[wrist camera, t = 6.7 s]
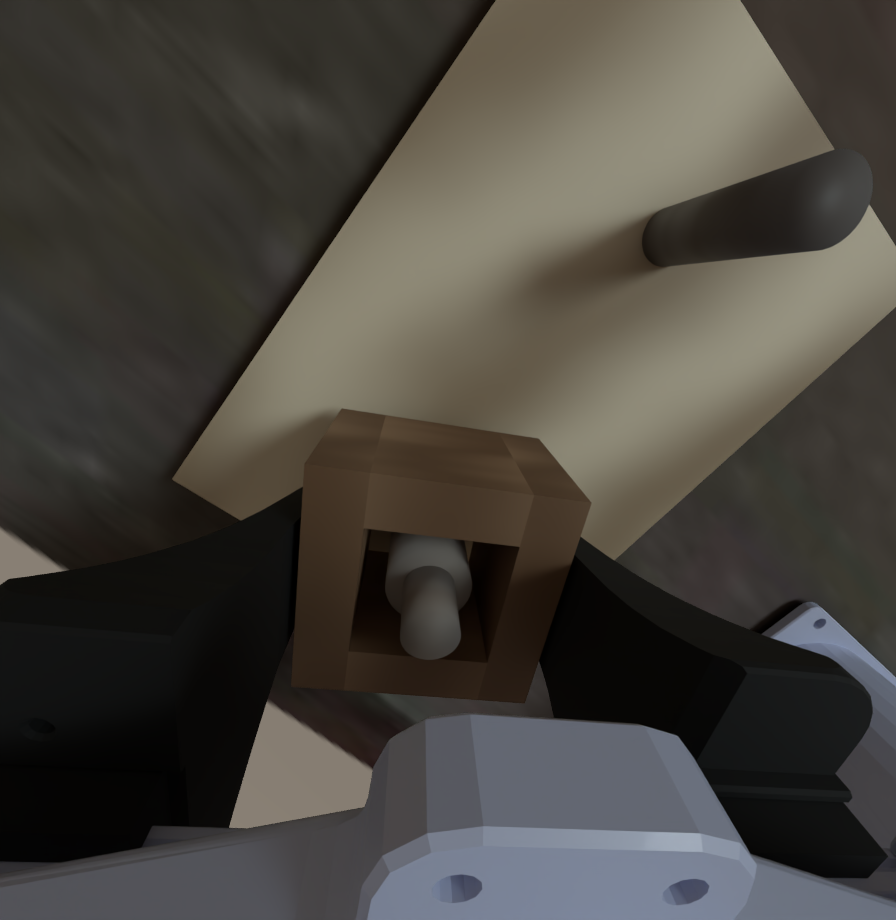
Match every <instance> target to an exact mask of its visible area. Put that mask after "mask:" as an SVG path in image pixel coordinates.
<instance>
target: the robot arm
mask: <svg viewBox="0 0 896 920" xmlns="http://www.w3.org/2000/svg"><path fill="white" fill-rule="evenodd" d="M302 494H303V487H301V488H299V489H298V490H296V491H294V492H292V493H291V494H289V495H287V496H286V497H284V498H282V499H281V500H279V501H277V502H275V503H274V504H272V505H270V506H268V507H267V508H265V509H263V510H261V511H259V512H257V513H255V514H253V515H251V516H249V517H247V518H245V519H243V520H241V521H239V522H237V523H235V524H233V525H231V526H229V527H226V528H224V529H222V530H219V531H217V532H214V533H212V534H209V535H207V536H204V537H201V538H199V539H196V540H193V541H190V542H187V543H184V544H180V545H177V546H174V547H170V548H167V549H164V550H160V551H157V552H154V553H150V554H147V555H143V556H138V557H134V558H130V559H126V560H122V561H117V562H112V563H107V564H102V565H98V566H92V567H87V568H81V569H75V570H69V571H62V572H56V573H49V574H42V575H35V576H29V577H21V578H13V579H8V580H7V581H5V582H4V583H3V584H1V585H0V920H896V677H895V676H893V675H892V674H891V673H890V672H889V671H888V670H887V669H886V668H885V667H884V666H883V665H882V664H881V663H880V662H879V661H878V660H877V659H875V658H874V657H873V656H872V655H871V654H870V653H869V652H868V651H867V650H866V649H865V648H864V647H863V646H862V645H861V644H860V643H859V642H857V641H856V640H855V639H854V638H853V637H852V636H851V635H850V634H849V633H848V632H847V631H846V630H845V629H844V628H843V627H842V626H841V625H839V624H838V623H837V622H836V621H835V620H834V619H833V618H832V617H831V616H830V615H829V614H828V613H827V612H826V611H825V610H824V609H822V608H821V607H820V606H819V605H817V604H816V603H814V602H806V603H803V604H801V605H799V606H798V607H797V608H795V609H794V610H793V611H791V612H790V613H789V614H787V615H786V616H785V617H783V618H782V619H781V620H779V621H778V622H777V623H775V624H774V625H773V626H771V627H770V628H769V629H767V630H766V631H765V632H763V633H762V634H759V633H757V632H754V631H751V630H749V629H746V628H744V627H741V626H739V625H736V624H733V623H731V622H729V621H726V620H724V619H722V618H719V617H717V616H715V615H712V614H710V613H708V612H706V611H704V610H702V609H699V608H697V607H695V606H693V605H691V604H689V603H687V602H684V601H682V600H681V599H679V598H677V597H675V596H673V595H671V594H669V593H667V592H665V591H663V590H662V589H660V588H658V587H656V586H654V585H653V584H651V583H649V582H647V581H646V580H644V579H642V578H641V577H639V576H637V575H636V574H634V573H632V572H631V571H629V570H628V569H626V568H625V567H623V566H622V565H620V564H619V563H617V562H616V561H614V560H613V559H611V558H610V557H608V556H607V555H605V554H604V553H603V552H601V551H600V550H598V549H597V548H596V547H594V546H593V545H591V544H590V543H589V542H587V541H586V540H585V539H583V538H582V537H580V540H579V543H578V546H577V549H576V552H575V555H574V557H573V560H572V563H571V566H570V569H569V572H568V575H567V578H566V581H565V584H564V587H563V590H562V593H561V596H560V599H559V602H558V605H557V608H556V611H555V614H554V617H553V620H552V623H551V626H550V629H549V632H548V635H547V638H546V641H545V644H544V647H543V650H542V653H541V656H540V659H539V662H540V665H541V668H542V671H543V674H544V678H545V681H546V685H547V688H548V692H549V697H550V701H551V706H552V710H553V715H554V718H543V717H528V716H513V715H499V714H484V713H469V712H466V713H458V714H450V715H441V716H433V717H428V718H426V719H424V720H422V721H420V722H419V723H417V724H415V725H413V726H411V727H410V728H408V729H406V730H404V731H402V732H400V733H399V734H397V735H395V736H394V737H393V738H391V739H390V740H389V741H388V743H387V745H386V747H385V748H384V750H383V752H382V753H381V755H380V757H379V758H378V760H377V762H376V763H375V765H374V767H373V772H372V778H371V784H370V790H369V796H368V799H367V802H366V804H365V807H363V808H357V809H352V810H347V811H341V812H335V813H330V814H325V815H319V816H313V817H308V818H302V819H297V820H292V821H286V822H280V823H275V824H269V825H264V826H258V827H253V828H248V829H246V828H229V825H230V821H231V818H232V815H233V811H234V807H235V804H236V800H237V797H238V794H239V790H240V787H241V784H242V780H243V777H244V773H245V770H246V767H247V764H248V760H249V757H250V753H251V750H252V747H253V743H254V740H255V737H256V734H257V731H258V728H259V724H260V721H261V718H262V715H263V712H264V708H265V705H266V702H267V699H268V696H269V693H270V690H271V687H272V684H273V680H274V677H275V674H276V671H277V668H278V666H279V663H280V660H281V658H282V655H283V653H284V650H285V648H286V646H287V643H288V641H289V639H290V637H291V634H292V632H293V630H294V628H295V612H296V595H297V578H298V562H299V545H300V528H301V511H302Z"/></svg>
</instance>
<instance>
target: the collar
mask: <svg viewBox="0 0 896 920" xmlns="http://www.w3.org/2000/svg"><path fill="white" fill-rule="evenodd" d="M591 504H592V503H591V501H590V500H589V499H588V498H587V496H586V495H585V494H584V493H583V492H582V490H581V489H580V488H579V487H578V486H577V484H576V483H575V482H574V481H573V479H572V478H571V477H570V476H569V475H568V473H567V472H566V471H565V470H564V469H563V467H562V466H561V465H560V464H559V462H558V461H557V460H556V459H555V458H554V456H553V455H552V454H551V453H550V452H549V450H548V449H547V448H546V447H545V445H544V444H543V443H542V442H541V441H540V439H538V438H532V437H525V436H519V435H512V434H506V433H499V432H493V431H486V430H480V429H473V428H467V427H460V426H454V425H447V424H441V423H434V422H428V421H421V420H414V419H408V418H401V417H395V416H388V415H382V414H375V413H369V412H362V411H356V410H349V409H343V408H342V409H341V410H340V412H339V413H338V415H337V416H336V418H335V419H334V421H333V422H332V424H331V425H330V427H329V428H328V429H327V431H326V432H325V434H324V435H323V437H322V438H321V440H320V441H319V443H318V444H317V446H316V447H315V449H314V450H313V452H312V453H311V455H310V456H309V458H308V459H307V461H306V462H305V464H304V477H303V494H302V511H301V528H300V545H299V562H298V578H297V595H296V612H295V629H294V646H293V663H292V680H291V687H304V688H318V689H332V690H346V691H360V692H374V693H387V694H401V695H415V696H429V697H443V698H457V699H471V700H485V701H499V702H513V703H525V701H526V698H527V695H528V692H529V689H530V686H531V683H532V680H533V677H534V674H535V671H536V668H537V665H538V662H539V659H540V656H541V653H542V650H543V647H544V644H545V641H546V638H547V635H548V632H549V629H550V626H551V623H552V620H553V617H554V614H555V611H556V608H557V605H558V602H559V599H560V596H561V593H562V590H563V587H564V584H565V581H566V578H567V575H568V572H569V569H570V566H571V563H572V560H573V557H574V555H575V552H576V549H577V546H578V543H579V540H580V537H581V534H582V531H583V528H584V525H585V522H586V519H587V516H588V513H589V510H590V507H591ZM371 529H374V530H383V531H391V532H399V533H408V534H416V535H424V536H433V537H441V538H450V539H458V540H466V541H473V545H472V549H471V554H470V558H469V561H468V563H469V568H470V574H471V579H472V590H471V594H470V597H469V599H468V601H467V602H466V604H465V605H464V606H463V607H462V608H461V609H460V610H459V611H458V614H459V623H460V631H461V639H460V642H459V644H458V646H457V647H456V649H455V650H454V651H453V652H451V653H450V654H449V655H447V656H445V657H442V658H439V659H434V660H424V659H419V658H416V657H414V656H412V655H410V654H409V653H407V652H406V651H405V649H404V648H403V647H402V645H401V641H400V628H401V614H400V613H399V612H397V611H396V610H395V609H394V608H393V607H392V605H391V604H390V602H389V601H388V599H387V596H386V592H385V582H386V574H387V565H388V556H389V552H382V551H373V550H369V543H370V535H371Z"/></svg>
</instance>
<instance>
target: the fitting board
mask: <svg viewBox="0 0 896 920" xmlns="http://www.w3.org/2000/svg"><path fill="white" fill-rule="evenodd" d="M872 188H873V178H872V172H871V169H870V166H869V164H868V162H867V161H866V159H865V158H864V157H863V156H862V155H861V154H859V153H858V152H856V151H853V150H850V149H836V150H834V148H833V146H832V145H831V143H830V142H829V140H828V139H827V137H826V135H825V134H824V132H823V131H822V129H821V128H820V126H819V124H818V123H817V121H816V120H815V118H814V116H813V115H812V113H811V112H810V110H809V109H808V107H807V105H806V104H805V102H804V101H803V99H802V97H801V96H800V94H799V93H798V91H797V90H796V88H795V86H794V85H793V83H792V82H791V80H790V78H789V77H788V75H787V74H786V72H785V71H784V69H783V67H782V66H781V64H780V63H779V61H778V59H777V58H776V56H775V55H774V53H773V52H772V50H771V48H770V47H769V45H768V44H767V42H766V41H765V39H764V37H763V36H762V34H761V33H760V31H759V29H758V28H757V26H756V25H755V23H754V22H753V20H752V18H751V17H750V15H749V14H748V12H747V10H746V9H745V7H744V6H743V4H742V3H741V1H740V0H496V1H495V2H494V4H493V5H492V7H491V8H490V10H489V11H488V13H487V14H486V16H485V17H484V18H483V20H482V21H481V23H480V24H479V26H478V27H477V29H476V30H475V32H474V33H473V35H472V36H471V38H470V39H469V41H468V42H467V44H466V45H465V47H464V48H463V50H462V51H461V52H460V54H459V55H458V57H457V58H456V60H455V61H454V63H453V64H452V66H451V67H450V69H449V70H448V72H447V73H446V75H445V76H444V78H443V79H442V81H441V82H440V84H439V85H438V86H437V88H436V89H435V91H434V92H433V94H432V95H431V97H430V98H429V100H428V101H427V103H426V104H425V106H424V107H423V109H422V110H421V112H420V113H419V115H418V116H417V118H416V119H415V120H414V122H413V123H412V125H411V126H410V128H409V129H408V131H407V132H406V134H405V135H404V137H403V138H402V140H401V141H400V143H399V144H398V146H397V147H396V149H395V150H394V152H393V153H392V154H391V156H390V157H389V159H388V160H387V162H386V163H385V165H384V166H383V168H382V169H381V171H380V172H379V174H378V175H377V177H376V178H375V180H374V181H373V183H372V184H371V186H370V187H369V189H368V190H367V191H366V193H365V194H364V196H363V197H362V199H361V200H360V202H359V203H358V205H357V206H356V208H355V209H354V211H353V212H352V214H351V215H350V217H349V218H348V220H347V221H346V223H345V224H344V225H343V227H342V228H341V230H340V231H339V233H338V234H337V236H336V237H335V239H334V240H333V242H332V243H331V245H330V246H329V248H328V249H327V251H326V252H325V254H324V255H323V257H322V258H321V259H320V261H319V262H318V264H317V265H316V267H315V268H314V270H313V271H312V273H311V274H310V276H309V277H308V279H307V280H306V282H305V283H304V285H303V286H302V288H301V289H300V291H299V292H298V293H297V295H296V296H295V298H294V299H293V301H292V302H291V304H290V305H289V307H288V308H287V310H286V311H285V313H284V314H283V316H282V317H281V319H280V320H279V322H278V323H277V325H276V326H275V327H274V329H273V330H272V332H271V333H270V335H269V336H268V338H267V339H266V341H265V342H264V344H263V345H262V347H261V348H260V350H259V351H258V353H257V354H256V356H255V357H254V359H253V360H252V362H251V363H250V364H249V366H248V367H247V369H246V370H245V372H244V373H243V375H242V376H241V378H240V379H239V381H238V382H237V384H236V385H235V387H234V388H233V390H232V391H231V393H230V394H229V396H228V397H227V398H226V400H225V401H224V403H223V404H222V406H221V407H220V409H219V410H218V412H217V413H216V415H215V416H214V418H213V419H212V421H211V422H210V424H209V425H208V427H207V428H206V430H205V431H204V432H203V434H202V435H201V437H200V438H199V440H198V441H197V443H196V444H195V446H194V447H193V449H192V450H191V452H190V453H189V455H188V456H187V458H186V459H185V461H184V462H183V464H182V465H181V466H180V468H179V469H178V471H177V472H176V474H175V475H174V477H173V478H172V480H174V481H175V482H177V483H179V484H180V485H182V486H184V487H185V488H187V489H189V490H190V491H192V492H194V493H195V494H197V495H199V496H200V497H202V498H204V499H205V500H207V501H209V502H210V503H212V504H214V505H215V506H217V507H219V508H220V509H222V510H224V511H225V512H227V513H229V514H230V515H232V516H234V517H236V518H237V519H239V520H243V519H245V518H247V517H249V516H251V515H253V514H255V513H257V512H259V511H261V510H263V509H265V508H267V507H268V506H270V505H272V504H274V503H275V502H277V501H279V500H281V499H282V498H284V497H286V496H287V495H289V494H291V493H292V492H294V491H296V490H298V489H299V488H301V487H303V477H304V464H305V462H306V461H307V459H308V458H309V456H310V455H311V453H312V452H313V450H314V449H315V447H316V446H317V444H318V443H319V441H320V440H321V438H322V437H323V435H324V434H325V432H326V431H327V429H328V428H329V427H330V425H331V424H332V422H333V421H334V419H335V418H336V416H337V415H338V413H339V412H340V410H341V409H342V408H343V409H349V410H356V411H362V412H369V413H375V414H382V415H388V416H395V417H401V418H408V419H414V420H421V421H428V422H434V423H441V424H447V425H454V426H460V427H467V428H473V429H480V430H486V431H493V432H499V433H506V434H512V435H519V436H525V437H532V438H538V439H540V441H541V442H542V443H543V444H544V445H545V447H546V448H547V449H548V450H549V452H550V453H551V454H552V455H553V456H554V458H555V459H556V460H557V461H558V462H559V464H560V465H561V466H562V467H563V469H564V470H565V471H566V472H567V473H568V475H569V476H570V477H571V478H572V479H573V481H574V482H575V483H576V484H577V486H578V487H579V488H580V489H581V490H582V492H583V493H584V494H585V495H586V496H587V498H588V499H589V500H590V501H591V503H592V504H591V507H590V510H589V513H588V516H587V519H586V522H585V525H584V528H583V531H582V534H581V537H582V538H583V539H585V540H586V541H587V542H589V543H590V544H591V545H593V546H594V547H596V548H597V549H598V550H600V551H601V552H603V553H604V554H605V555H607V556H608V557H610V558H611V559H613V560H615V559H616V558H617V557H618V556H620V555H621V554H622V553H623V552H624V551H625V550H626V549H627V548H628V547H630V546H631V545H632V544H633V543H634V542H635V541H636V540H637V539H638V538H640V537H641V536H642V535H643V534H644V533H645V532H646V531H647V530H648V529H650V528H651V527H652V526H653V525H654V524H655V523H656V522H657V521H658V520H660V519H661V518H662V517H663V516H664V515H665V514H666V513H667V512H668V511H670V510H671V509H672V508H673V507H674V506H675V505H676V504H677V503H678V502H680V501H681V500H682V499H683V498H684V497H685V496H686V495H687V494H688V493H690V492H691V491H692V490H693V489H694V488H695V487H696V486H697V485H698V484H700V483H701V482H702V481H703V480H704V479H705V478H706V477H707V476H708V475H710V474H711V473H712V472H713V471H714V470H715V469H716V468H717V467H718V466H720V465H721V464H722V463H723V462H724V461H725V460H726V459H727V458H728V457H729V456H731V455H732V454H733V453H734V452H735V451H736V450H737V449H738V448H739V447H741V446H742V445H743V444H744V443H745V442H746V441H747V440H748V439H749V438H751V437H752V436H753V435H754V434H755V433H756V432H757V431H758V430H759V429H761V428H762V427H763V426H764V425H765V424H766V423H767V422H768V421H769V420H771V419H772V418H773V417H774V416H775V415H776V414H777V413H778V412H779V411H781V410H782V409H783V408H784V407H785V406H786V405H787V404H788V403H789V402H791V401H792V400H793V399H794V398H795V397H796V396H797V395H798V394H799V393H801V392H802V391H803V390H804V389H805V388H806V387H807V386H808V385H809V384H811V383H812V382H813V381H814V380H815V379H816V378H817V377H818V376H819V375H821V374H822V373H823V372H824V371H825V370H826V369H827V368H828V367H829V366H831V365H832V364H833V363H834V362H835V361H836V360H837V359H838V358H839V357H841V356H842V355H843V354H844V353H845V352H846V351H847V350H848V349H849V348H851V347H852V346H853V345H854V344H855V343H856V342H857V341H858V340H859V339H861V338H862V337H863V336H864V335H865V334H866V333H867V332H868V331H869V330H871V329H872V328H873V327H874V326H875V325H876V324H877V323H878V322H879V321H881V320H882V319H883V318H884V317H885V316H886V315H887V314H888V313H889V312H891V311H892V310H893V309H894V308H895V307H896V246H895V245H894V243H893V241H892V240H891V238H890V237H889V235H888V233H887V232H886V230H885V229H884V227H883V226H882V224H881V222H880V221H879V219H878V218H877V216H876V214H875V213H874V211H873V210H872V208H871V207H870V205H869V203H870V199H871V195H872ZM472 545H473V541H466V540H458V539H450V538H441V537H433V536H424V535H416V534H408V533H399V532H391V531H383V530H374V529H371V535H370V543H369V550H373V551H382V552H389V556H388V565H387V574H386V582H385V592H386V596H387V599H388V601H389V602H390V604H391V605H392V607H393V608H394V609H395V610H396V611H397V612H399V613H400V614H401V628H400V641H401V645H402V647H403V648H404V649H405V651H406V652H407V653H409V654H410V655H412V656H414V657H416V658H419V659H424V660H434V659H439V658H442V657H445V656H447V655H449V654H450V653H451V652H453V651H454V650H455V649H456V647H457V646H458V644H459V642H460V639H461V631H460V623H459V614H458V611H459V610H460V609H461V608H462V607H463V606H464V605H465V604H466V602H467V601H468V599H469V597H470V594H471V590H472V579H471V574H470V568H469V563H468V561H469V558H470V554H471V549H472Z"/></svg>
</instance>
